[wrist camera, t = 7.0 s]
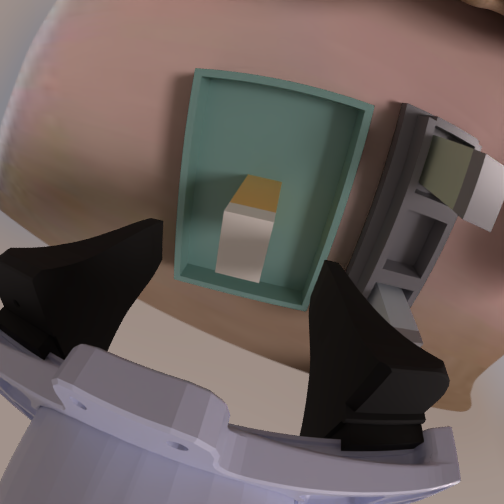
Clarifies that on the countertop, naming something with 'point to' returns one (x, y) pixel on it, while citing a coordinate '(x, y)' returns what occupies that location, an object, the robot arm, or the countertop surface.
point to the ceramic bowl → (488, 4)
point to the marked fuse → (248, 228)
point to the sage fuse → (464, 181)
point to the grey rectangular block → (395, 310)
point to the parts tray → (266, 166)
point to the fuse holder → (406, 211)
